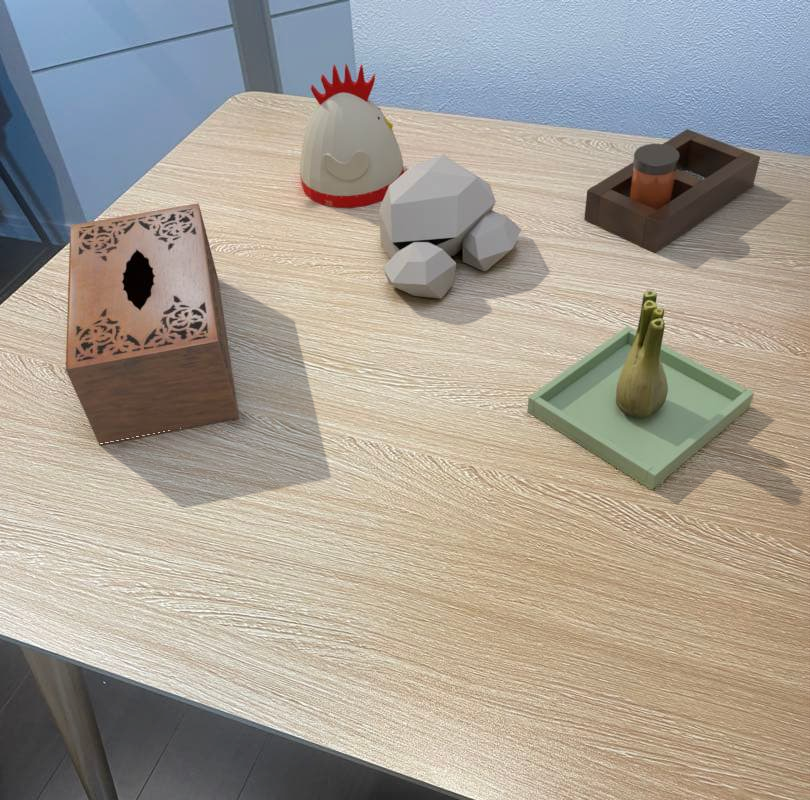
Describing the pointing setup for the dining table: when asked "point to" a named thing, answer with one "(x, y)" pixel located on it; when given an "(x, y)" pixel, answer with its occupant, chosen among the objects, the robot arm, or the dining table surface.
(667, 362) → the tray
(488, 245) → the rock
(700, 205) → the rack
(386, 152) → the kitchen timer
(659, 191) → the spice jar
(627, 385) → the fennel bulb
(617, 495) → the dining table surface
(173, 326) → the tissue box cover
